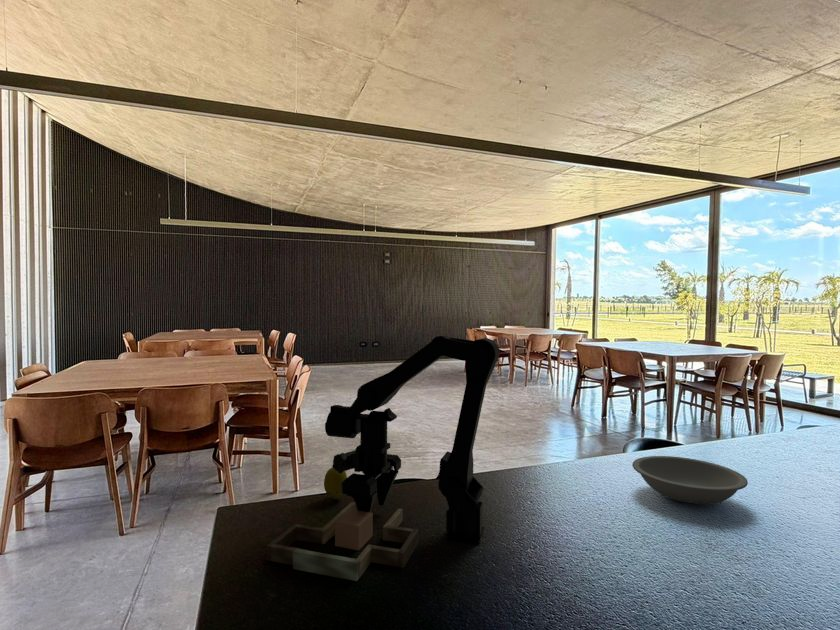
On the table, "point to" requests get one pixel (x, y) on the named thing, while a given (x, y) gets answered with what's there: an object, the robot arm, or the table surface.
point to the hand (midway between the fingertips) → (373, 513)
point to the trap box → (339, 564)
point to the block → (353, 529)
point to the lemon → (334, 482)
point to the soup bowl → (689, 479)
